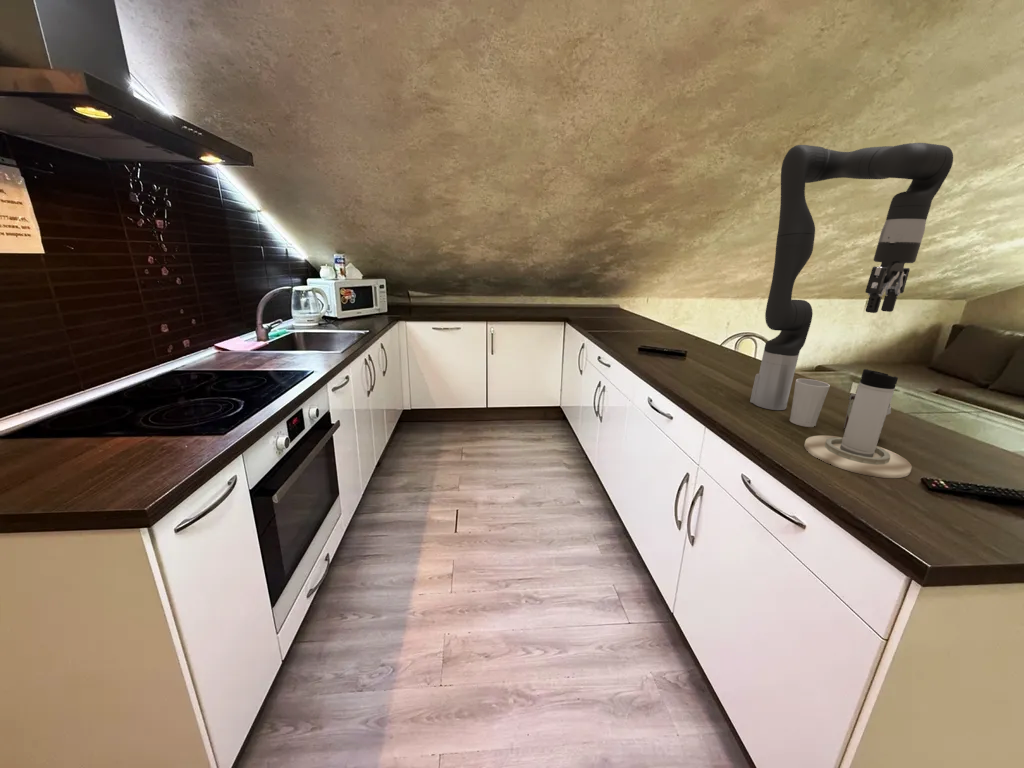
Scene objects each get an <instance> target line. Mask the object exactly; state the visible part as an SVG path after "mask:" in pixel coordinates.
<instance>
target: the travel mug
mask: <svg viewBox="0 0 1024 768" xmlns="http://www.w3.org/2000/svg"><path fill="white" fill-rule="evenodd" d="M898 379H899V377H898V376H895V375H894V376H892V375H889V374H888V373H884V372H881V371H876V370H872V369H868V368H867V369H866V368H865V369H863V371H862V374H861V379H860V381H859V383H858V386H857V389H856V393H855V394H856V396H855V399H854V402H853V406H852V409H851V413H850V416H849V419H848V423H847V426H846V429H844V433H843V435H842V436H843V439H842V443H841V446H840V449H841V450H843V451H846V452H849V453H851V454H855V455H860V456H864V457H873V455H874V452H875V449H876V446H878V442H879V439H880V436H881V433H882V430H883V426H884V424H885V420H886V418H887V416H888V415H887V412H888V409H889V406H891V402H892V399H893V396H894V393H895V392H894V391H895V390H896V384H897V382H898Z"/></svg>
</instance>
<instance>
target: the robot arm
mask: <svg viewBox="0 0 1024 768" xmlns="http://www.w3.org/2000/svg"><path fill="white" fill-rule="evenodd" d="M953 164H954V153H953V150H952V149H951V148H950V147H949V146H947V145H941V144H934V143H926V142H911V143H910V142H909V143H904V144H903V143H902V144H898V145H894V146H893V145H887V146H871V147H863V148H859V149H856V150H853V151H838V150H833V149H828V148H825V147H824V146H823V147H822V146H816V145H809V144H797V145H793V146H792V147H791V148H790V149H788V151H787V152H786V153H785V156H784V158H783V160H782V164H781V170H780V207H779V208H780V209H779V219H778V230H777V234H776V243H775V256H774V263H773V264H774V265H773V271H772V279H771V283H770V289H769V293H768V298H767V302H766V307H765V312H764V314H765V315H764V319H765V324H766V326H767V328H769V329H770V330H771V331H777V332H779V331H780V332H779V333H778V335H777V336H775V337H774V338H771V339H770V340H767V341H766V342H765V345H764V350H763V353H762V358H761V363H760V367H759V372H758V373H756V374H755V377H754V382H753V386H752V389H751V396H750V399H749V400H750V401H749V403H751V404H753V405H755V406H757V407H759V408H763V409H765V410H766V409H767V410H773V411H784V410H786V409H787V406H788V403H789V397H790V392H791V389H792V384H793V382H794V381H793V380H794V378H795V377H794V376H795V374H796V373H795V371H796V369H797V368H796V367H797V365H798V364H797V363H798V359H799V355H800V352H801V350H802V349H803V347H804V345H805V344H806V341H807V337H808V335H809V331H810V327H811V324H812V320H813V314H814V313H813V309H812V308H813V307H812V305H811V304H810V302H808V301H807V300H804V299H793V298H792V295H793V289H794V284H795V281H796V279H797V277H798V276H799V274H800V272H801V271H802V270H803V268H804V267H805V266H806V265H807V263H808V261H809V259H810V258H811V256H812V254H813V250H814V244H815V238H816V236H815V235H816V227H815V226H816V225H815V222H814V219H813V215H812V213H811V211H810V209H809V207H808V204H807V201H806V191H805V190H806V184H809V183H810V184H811V183H816V182H821V181H826V180H827V181H828V180H832V179H839V178H840V179H843V178H845V179H853V180H854V179H856V180H885V179H902V180H903V179H904V180H905V179H906V180H911V182H910V184H909V186H908V188H907V189H906V191H902V192H898V193H896V194H895V195H894V196H893V197H892V199H891V201H890V204H889V208H888V211H887V215H886V218H885V221H884V224H883V227H882V229H881V232H880V235H879V239H878V242H877V246H876V249H875V253H874V257H873V261H874V262H876V263H880V266H873V267H872V269H871V271H870V273H869V274H870V275H869V278H868V282H867V285H866V289H865V293H866V294H867V295H868V300H867V305H866V308H865V312H866V313H869V314H870V313H871V314H877V313H878V312H879V308H880V311H882V312H889V313H891V312H893V311H894V309H895V306H896V302H897V299H898V297H899V296H900V295H901V294H903V293H904V292H905V287H906V284H907V280H908V277H909V274H910V270H911V269H910V268H909V267H905V264H914V263H915V262H916V260H917V258H918V254H919V251H920V247H921V244H922V240H923V237H924V234H925V230H926V223H927V220H928V216H929V213H930V209H931V206H932V201H933V200H934V198H935V197H936V196H937V194H938V192H939V190H940V189H941V187H942V185H943V183H945V180H946V178H947V176H948V175H949V173H950V171H951V169H952V168H953ZM884 294H885V295H884ZM883 295H884V297H883ZM882 297H883V302H882V306H881V307H880V305H881V301H882Z"/></svg>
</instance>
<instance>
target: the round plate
mask: <svg viewBox="0 0 1024 768" xmlns="http://www.w3.org/2000/svg"><path fill="white" fill-rule="evenodd" d="M842 439H843V437H842V436H834V435H812V436H809V437H807V438H806V439H805V441H804V447H803V448H805V450H806V452H807V451H808V452H807V453H808V454H809V455H810V456H813V457H814V458H816V459H817V458H818V460H819V459H820V461H821V460H822V462H823V461H824V463H826V464H828V465H830V464H831V466H833V467H836V468H839V469H840V470H841V469H842V470H845V471H848V472H852V473H856V474H860V475H864V476H870V477H876V478H884V479H900V478H905V477H908V476H909V475H910V474H911V472H912V468H913V466H912V464H911V463H910V462H909V460H907V459H906V458H905V457H903V456H901V455H899V454H898V453H895V452H894V451H891V450H889V449H887V448H884V447H881V446H878V445H877V446H876V449H875V452H874V455H873V457H864V456H860V455H855V454H851V453H849V452H846V451H843V450H841V449H840V446H841V443H842Z"/></svg>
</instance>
